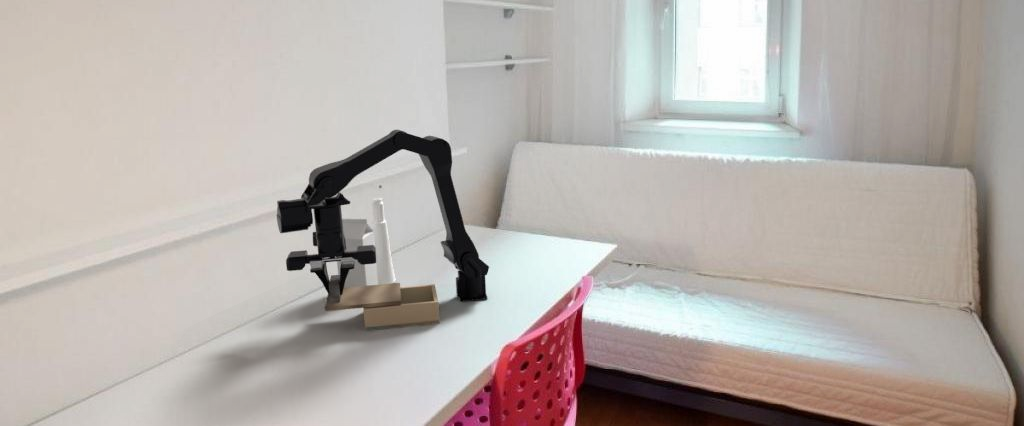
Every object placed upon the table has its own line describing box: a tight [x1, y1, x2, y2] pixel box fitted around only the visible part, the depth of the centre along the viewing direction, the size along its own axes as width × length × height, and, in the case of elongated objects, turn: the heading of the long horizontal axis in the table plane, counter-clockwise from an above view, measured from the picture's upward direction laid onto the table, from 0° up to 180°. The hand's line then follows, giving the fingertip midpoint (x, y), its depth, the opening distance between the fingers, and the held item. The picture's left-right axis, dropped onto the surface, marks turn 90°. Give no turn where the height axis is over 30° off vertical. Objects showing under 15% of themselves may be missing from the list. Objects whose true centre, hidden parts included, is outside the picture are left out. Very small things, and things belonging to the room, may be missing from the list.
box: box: [362, 283, 441, 332], centre depth 161 cm, size 16×12×5 cm
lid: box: [324, 274, 401, 312], centre depth 159 cm, size 16×12×5 cm
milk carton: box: [336, 218, 378, 288], centre depth 176 cm, size 7×7×19 cm
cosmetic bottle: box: [371, 197, 397, 285], centre depth 184 cm, size 6×6×22 cm
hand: (336, 294), depth 158 cm, fingers closed on lid, 2 cm apart
